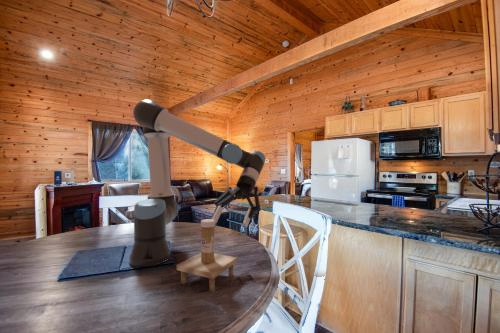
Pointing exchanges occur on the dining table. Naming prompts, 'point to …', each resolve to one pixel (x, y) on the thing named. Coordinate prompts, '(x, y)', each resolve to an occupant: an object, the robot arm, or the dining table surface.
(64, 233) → the dining table surface
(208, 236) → the spice jar
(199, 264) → the stool
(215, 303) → the dining table surface
